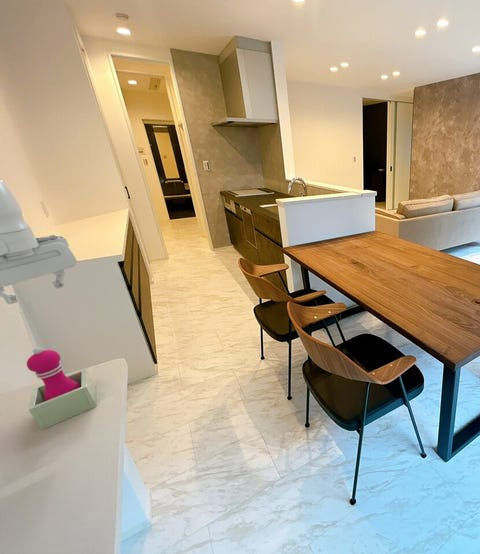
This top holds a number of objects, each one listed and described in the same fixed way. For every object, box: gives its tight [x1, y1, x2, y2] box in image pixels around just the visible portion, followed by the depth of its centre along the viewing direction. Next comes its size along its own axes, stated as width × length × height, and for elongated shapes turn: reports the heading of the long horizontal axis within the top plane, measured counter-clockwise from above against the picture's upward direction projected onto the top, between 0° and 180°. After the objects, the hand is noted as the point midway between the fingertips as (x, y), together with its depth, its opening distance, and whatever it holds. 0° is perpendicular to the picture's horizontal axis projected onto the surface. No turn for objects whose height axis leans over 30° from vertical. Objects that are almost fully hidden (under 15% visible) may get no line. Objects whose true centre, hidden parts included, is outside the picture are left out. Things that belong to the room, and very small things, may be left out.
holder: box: [28, 368, 98, 431], centre depth 83 cm, size 11×11×7 cm
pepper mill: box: [26, 346, 81, 401], centre depth 80 cm, size 7×7×20 cm
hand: (37, 294), depth 77 cm, fingers open, 8 cm apart
